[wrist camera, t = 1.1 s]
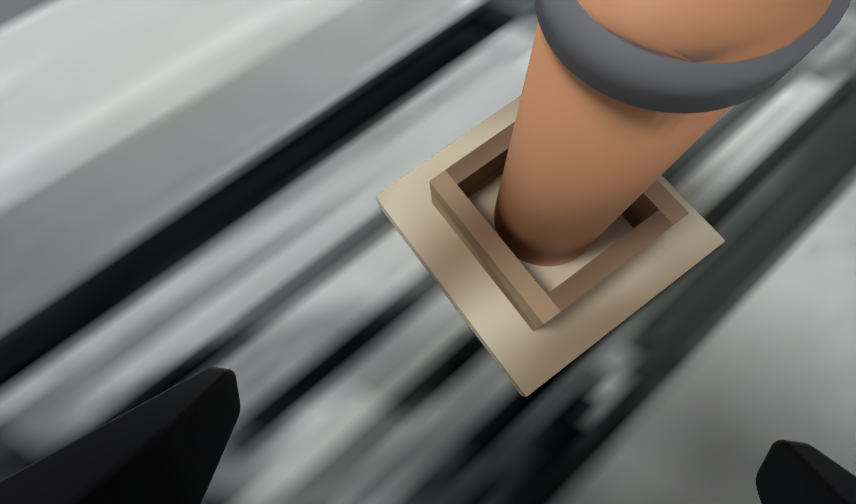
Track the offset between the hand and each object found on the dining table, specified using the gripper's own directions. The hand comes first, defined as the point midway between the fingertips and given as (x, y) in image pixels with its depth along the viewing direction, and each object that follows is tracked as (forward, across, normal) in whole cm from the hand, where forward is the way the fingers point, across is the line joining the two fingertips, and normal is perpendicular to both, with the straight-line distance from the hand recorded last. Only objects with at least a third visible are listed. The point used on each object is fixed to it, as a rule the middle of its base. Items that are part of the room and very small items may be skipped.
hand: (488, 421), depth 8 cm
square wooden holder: (+15, -3, +2) cm, 16 cm away
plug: (+14, -3, +1) cm, 14 cm away
